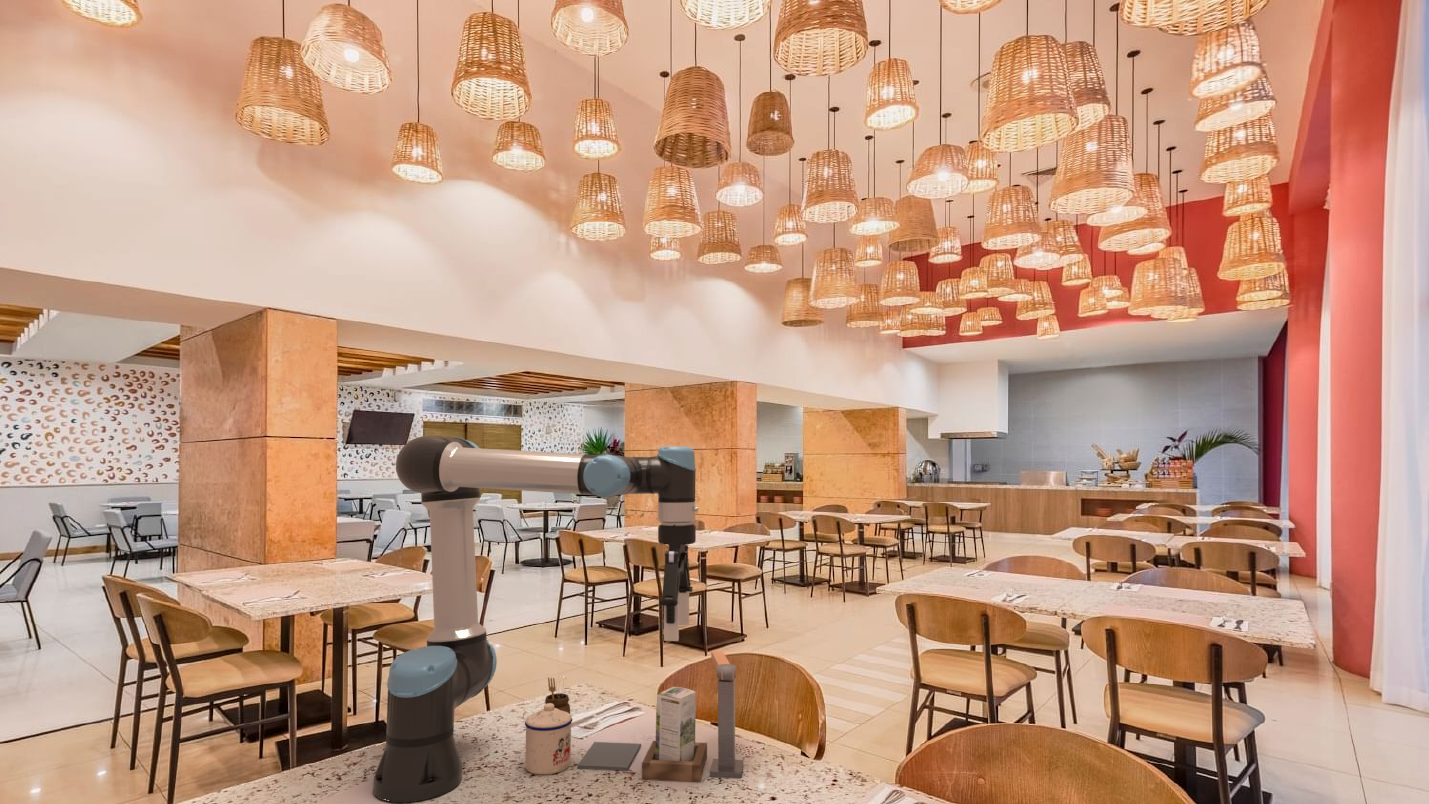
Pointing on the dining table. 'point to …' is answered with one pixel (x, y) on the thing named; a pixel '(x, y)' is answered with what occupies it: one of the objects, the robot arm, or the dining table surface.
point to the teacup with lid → (548, 740)
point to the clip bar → (723, 666)
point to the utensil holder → (558, 697)
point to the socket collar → (674, 766)
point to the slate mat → (609, 756)
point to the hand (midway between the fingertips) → (677, 632)
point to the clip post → (726, 734)
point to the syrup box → (675, 725)
